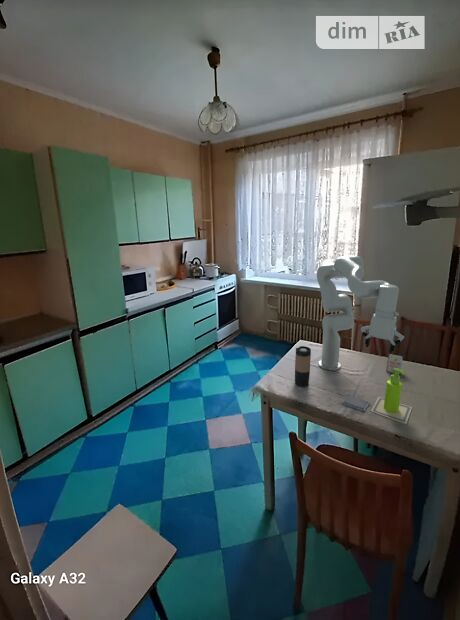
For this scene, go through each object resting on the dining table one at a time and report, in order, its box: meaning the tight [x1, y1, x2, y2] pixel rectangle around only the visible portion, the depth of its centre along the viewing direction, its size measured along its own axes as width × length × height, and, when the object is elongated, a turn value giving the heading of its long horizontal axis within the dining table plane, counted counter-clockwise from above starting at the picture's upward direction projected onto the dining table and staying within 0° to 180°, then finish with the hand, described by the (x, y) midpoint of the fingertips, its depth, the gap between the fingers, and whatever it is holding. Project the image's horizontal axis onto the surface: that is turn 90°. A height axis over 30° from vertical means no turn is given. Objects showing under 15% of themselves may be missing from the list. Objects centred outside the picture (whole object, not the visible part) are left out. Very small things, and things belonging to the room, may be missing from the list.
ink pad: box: [341, 394, 371, 413], centre depth 135 cm, size 8×10×1 cm
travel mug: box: [294, 345, 312, 388], centre depth 151 cm, size 8×8×20 cm
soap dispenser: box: [384, 368, 408, 413], centre depth 128 cm, size 6×7×20 cm
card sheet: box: [370, 396, 413, 425], centre depth 131 cm, size 14×14×1 cm
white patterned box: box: [385, 353, 404, 375], centre depth 161 cm, size 4×7×10 cm, turn 55°
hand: (378, 349), depth 130 cm, fingers open, 9 cm apart
